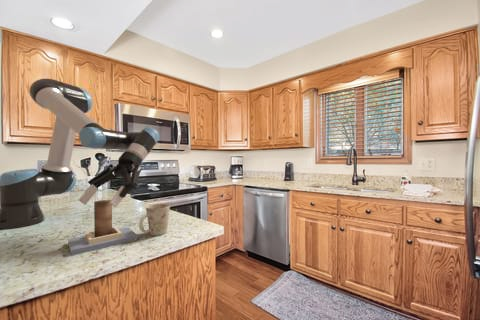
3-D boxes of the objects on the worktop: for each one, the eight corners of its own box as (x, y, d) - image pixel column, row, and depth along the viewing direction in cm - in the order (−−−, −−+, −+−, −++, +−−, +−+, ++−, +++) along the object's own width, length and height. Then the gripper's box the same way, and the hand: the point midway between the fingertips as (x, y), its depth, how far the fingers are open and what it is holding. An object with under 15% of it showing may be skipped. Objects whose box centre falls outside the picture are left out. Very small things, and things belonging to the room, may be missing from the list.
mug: (174, 230, 83) (174, 204, 83) (150, 242, 71) (149, 212, 71) (157, 228, 86) (157, 203, 86) (131, 239, 74) (131, 210, 74)
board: (68, 243, 71) (68, 234, 71) (128, 230, 83) (128, 223, 83) (71, 255, 62) (70, 245, 62) (137, 239, 74) (137, 230, 74)
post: (93, 236, 73) (93, 201, 72) (110, 233, 76) (110, 199, 76) (95, 241, 69) (95, 203, 69) (113, 237, 72) (113, 201, 72)
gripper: (164, 164, 83) (133, 212, 69) (114, 163, 91) (78, 207, 77) (154, 150, 78) (119, 199, 64) (102, 150, 86) (61, 194, 71)
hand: (96, 203), depth 70 cm, fingers open, 13 cm apart
